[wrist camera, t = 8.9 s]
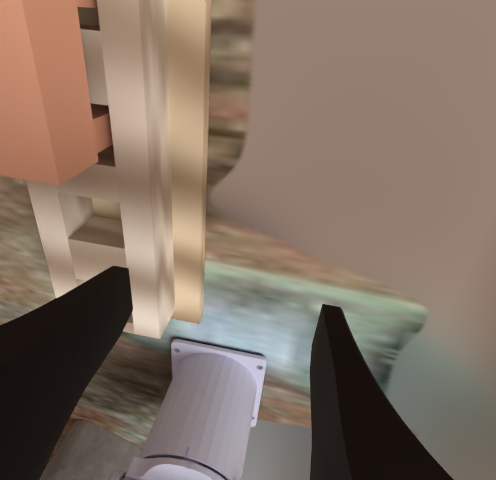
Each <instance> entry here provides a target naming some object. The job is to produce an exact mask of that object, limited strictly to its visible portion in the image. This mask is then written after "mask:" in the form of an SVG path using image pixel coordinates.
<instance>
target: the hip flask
mask: <svg viewBox="0 0 496 480" xmlns="http://www.w3.org/2000/svg"><path fill="white" fill-rule="evenodd" d="M142 450H143V449H142V448H140V447H138V446H136V445H135V444H133V443H131V442H129V441H128V440H126V439H124V438H122V437H120V436H118V435H116V434H114V433H113V432H111V431H109V430H107V429H104V428H102V427H100V426H98V425H96V424H94V423H92V422H89V421H86V420H77V421H75V422H74V424H73V426H72V427H71V429H70V430H69V432H68V434H67V435H66V437H65V439H64V440H63V442H62V443H61V445H60V447H59V448H58V450H57V451H56V453H55V455H54V456H53V458H52V459H51V461H50V463H49V464H48V466H47V468H46V469H45V471H44V472H43V474H42V476H41V477H40V480H105V479H106V478H108V477H109V476H111V475H112V474H113V473H114V472H116V471H117V470H121V471H124V472H127V470H128V468H129V465H130V463H131V461H132V458H133V457H134V456H135V457H140V454H141V452H142Z"/></svg>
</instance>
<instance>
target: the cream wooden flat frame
mask: <svg viewBox="0 0 496 480" xmlns="http://www.w3.org/2000/svg"><path fill="white" fill-rule="evenodd" d="M97 7H98V8H87V7H77V9H78V16H79V23H80V31H81V38H82V45H83V53H84V60H85V67H86V74H87V82H88V89H89V96H90V103H93V104H100V105H108V106H109V113H110V122H111V131H112V139H113V145H111V146H109V147H107V148H106V149H104V150H102V151H101V152H99V153H97V155H98V162H97V163H95V164H94V165H92V166H90V167H89V168H87V169H85V170H84V171H82V172H81V173H79V174H77V175H76V176H74V177H73V178H71V179H69V180H68V181H66V182H64V183H63V184H61V185H54V184H48V183H41V182H35V181H29V180H26V183H27V187H28V191H29V195H30V199H31V203H32V206H33V210H34V214H35V218H36V222H37V226H38V230H39V234H40V238H41V241H42V245H43V249H44V253H45V257H46V261H47V265H48V269H49V273H50V276H51V280H52V284H53V288H54V292H55V296H56V298H58V297H60V296H62V295H64V294H65V293H67V292H69V291H70V290H72V289H74V288H76V287H77V286H79V285H81V284H82V283H84V282H86V281H88V280H89V279H91V278H93V277H94V276H96V275H98V274H99V273H101V272H103V271H104V270H106V269H108V268H110V267H112V266H119V267H124V268H129V276H130V285H131V294H132V303H133V311H132V313H131V315H130V317H129V320H128V322H127V324H126V326H125V328H124V330H123V332H127V333H132V334H137V335H142V336H147V337H152V338H157V339H160V337H161V336H162V334H163V332H164V330H165V328H166V326H167V324H168V322H169V320H170V318H172V319H177V320H182V321H187V322H193V323H198V324H199V323H200V321H201V318H202V316H203V297H204V261H205V225H206V189H207V154H208V118H209V82H210V46H211V10H212V0H97Z"/></svg>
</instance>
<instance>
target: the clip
mask: <svg viewBox="0 0 496 480" xmlns="http://www.w3.org/2000/svg"><path fill="white" fill-rule="evenodd" d="M77 7H87V8H98V7H97V0H0V176H5V177H11V178H17V179H23V180H29V181H35V182H41V183H48V184H54V185H61V184H63V183H64V182H66V181H68V180H69V179H71V178H73V177H74V176H76V175H77V174H79V173H81V172H82V171H84V170H85V169H87V168H89V167H90V166H92V165H94V164H95V163H97V162H98V155H97V153H99V152H101V151H102V150H104V149H106V148H107V147H109V146H111V145H113V139H112V131H111V122H110V113H109V106H108V105H100V104H93V103H90V96H89V89H88V82H87V74H86V67H85V60H84V53H83V45H82V38H81V31H80V23H79V16H78V9H77Z"/></svg>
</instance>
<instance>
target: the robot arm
mask: <svg viewBox="0 0 496 480" xmlns="http://www.w3.org/2000/svg"><path fill="white" fill-rule="evenodd" d="M132 311H133V303H132V294H131V285H130V276H129V268H124V267H119V266H112V267H110V268H108V269H106V270H104V271H103V272H101V273H99V274H98V275H96V276H94V277H93V278H91V279H89V280H88V281H86V282H84V283H82V284H81V285H79V286H77V287H76V288H74V289H72V290H70V291H69V292H67V293H65V294H64V295H62V296H60V297H58V298H56V299H54V300H52V301H50V302H49V303H47V304H45V305H43V306H41V307H39V308H37V309H35V310H33V311H31V312H29V313H27V314H25V315H23V316H21V317H19V318H16V319H14V320H12V321H9V322H7V323H5V324H3V325H0V480H40V477H41V475H42V473H43V471H44V469H45V467H46V465H47V462H48V460H49V458H50V456H51V454H52V452H53V450H54V447H55V445H56V443H57V441H58V439H59V437H60V435H61V433H62V431H63V429H64V427H65V425H66V423H67V421H68V419H69V418H70V416H71V414H72V412H73V410H74V408H75V406H76V404H77V402H78V401H79V399H80V397H81V395H82V393H83V392H84V390H85V388H86V387H87V385H88V383H89V382H90V380H91V379H92V377H93V376H94V374H95V373H96V371H97V370H98V368H99V367H100V365H101V364H102V362H103V361H104V359H105V358H106V356H107V355H108V353H109V352H110V350H111V349H112V347H113V346H114V344H115V343H116V341H117V340H118V338H119V337H120V335H121V333H122V332H123V330H124V328H125V326H126V324H127V322H128V320H129V317H130V315H131V313H132ZM171 356H172V381H171V383H170V386H169V388H168V391H167V393H166V395H165V398H164V400H163V402H162V405H161V407H160V410H159V412H158V414H157V417H156V419H155V421H154V424H153V426H152V428H151V431H150V433H149V436H148V438H147V440H146V443H145V445H144V447H143V450H142V452H141V454H140V457H135V456H134V457H133V458H132V461H131V463H130V465H129V468H128V470H127V472H124V471H121V470H117V471H116V472H114V473H113V474H112V475H111V476H109V477H108V478H106V479H105V480H241V477H242V471H243V466H244V460H245V455H246V449H247V444H248V438H249V432H250V427H254V426H255V425H256V421H257V416H258V410H259V404H260V398H261V392H262V386H263V381H264V375H265V369H266V363H267V359H266V358H265V357H263V356H260V355H255V354H250V353H245V352H240V351H235V350H230V349H225V348H220V347H215V346H210V345H205V344H201V343H196V342H191V341H186V340H181V339H174V340H173V341H172V343H171ZM259 365H260V366H259ZM310 392H311V421H312V453H311V471H310V480H453V479H452V477H451V476H449V475H448V473H447V472H446V471H445V470H444V469H443V468H442V467H441V466H440V465H439V464H438V463H437V461H436V460H435V459H434V458H433V457H432V456H431V455H430V454H429V453H428V451H427V450H426V449H425V448H424V446H423V445H422V444H421V443H420V441H419V440H418V439H417V438H416V436H415V435H414V434H413V433H412V432H411V430H410V429H409V428H408V427H407V425H406V424H405V423H404V421H403V420H402V419H401V417H400V416H399V415H398V413H397V412H396V410H395V409H394V408H393V406H392V405H391V403H390V402H389V400H388V399H387V397H386V396H385V394H384V393H383V391H382V390H381V388H380V386H379V385H378V383H377V381H376V380H375V378H374V376H373V374H372V373H371V371H370V369H369V367H368V366H367V364H366V362H365V360H364V358H363V356H362V354H361V352H360V350H359V348H358V346H357V344H356V342H355V340H354V338H353V335H352V333H351V331H350V329H349V326H348V324H347V321H346V319H345V316H344V313H343V310H342V309H341V308H340V307H336V306H330V305H325V304H323V305H322V308H321V312H320V316H319V320H318V324H317V327H316V331H315V335H314V339H313V343H312V351H311V363H310Z"/></svg>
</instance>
